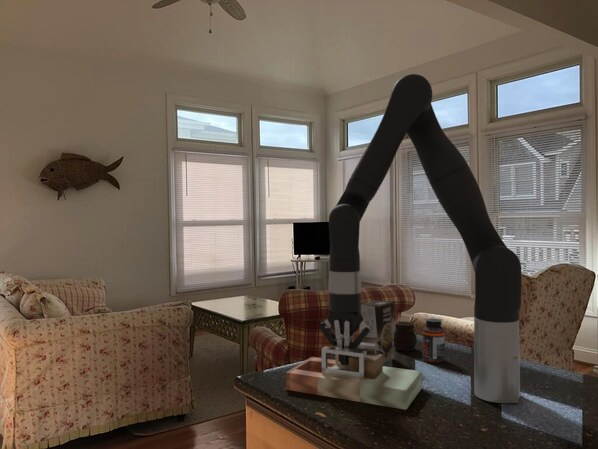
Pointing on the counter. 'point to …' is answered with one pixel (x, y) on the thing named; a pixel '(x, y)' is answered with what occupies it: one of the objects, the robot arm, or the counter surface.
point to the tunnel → (359, 352)
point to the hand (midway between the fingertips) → (345, 364)
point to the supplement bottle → (433, 341)
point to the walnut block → (368, 365)
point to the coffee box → (380, 327)
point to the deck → (356, 384)
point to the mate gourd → (404, 336)
